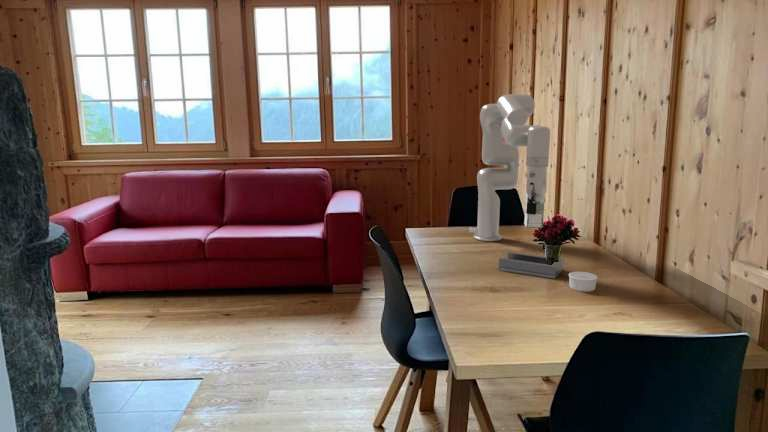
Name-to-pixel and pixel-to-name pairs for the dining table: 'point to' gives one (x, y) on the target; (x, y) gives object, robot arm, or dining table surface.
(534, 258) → the track
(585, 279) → the ramekin
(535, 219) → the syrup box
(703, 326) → the dining table surface
